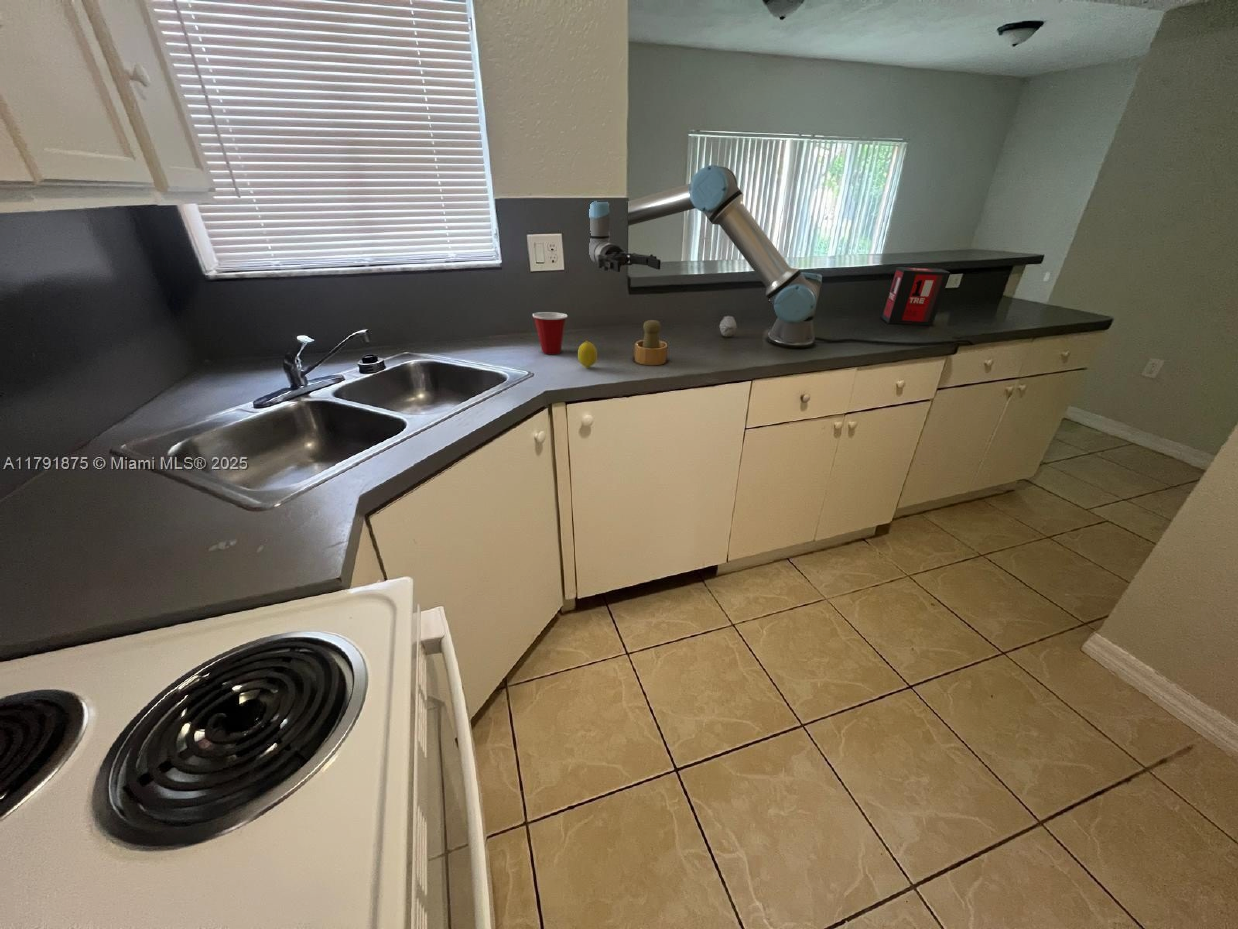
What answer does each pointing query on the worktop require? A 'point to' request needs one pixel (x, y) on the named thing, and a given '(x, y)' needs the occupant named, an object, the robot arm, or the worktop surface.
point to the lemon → (587, 354)
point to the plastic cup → (550, 330)
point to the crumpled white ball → (728, 326)
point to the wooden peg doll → (651, 334)
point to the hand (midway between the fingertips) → (639, 265)
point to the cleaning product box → (915, 295)
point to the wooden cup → (650, 354)
